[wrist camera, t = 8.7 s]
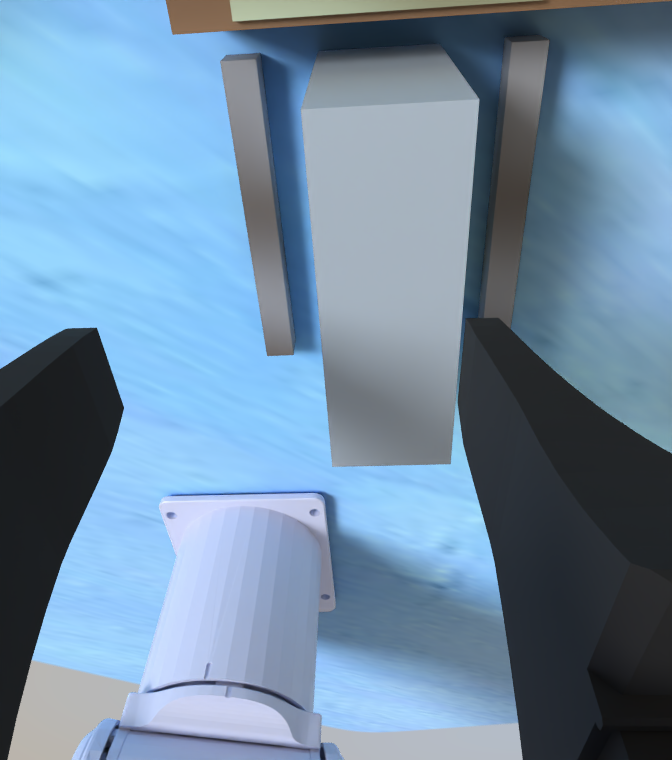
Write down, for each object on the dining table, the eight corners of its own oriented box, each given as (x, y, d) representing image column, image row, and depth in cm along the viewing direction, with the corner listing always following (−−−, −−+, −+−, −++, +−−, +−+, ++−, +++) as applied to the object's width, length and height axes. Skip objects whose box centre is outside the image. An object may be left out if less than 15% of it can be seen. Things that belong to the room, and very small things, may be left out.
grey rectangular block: (432, 334, 23) (457, 463, 18) (338, 338, 23) (332, 466, 18) (446, 42, 17) (490, 99, 12) (318, 50, 17) (300, 109, 12)
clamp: (732, 324, 22) (789, 384, 20) (257, 341, 23) (243, 401, 21) (912, -129, 15) (1052, -142, 12) (187, -73, 16) (149, -72, 13)
